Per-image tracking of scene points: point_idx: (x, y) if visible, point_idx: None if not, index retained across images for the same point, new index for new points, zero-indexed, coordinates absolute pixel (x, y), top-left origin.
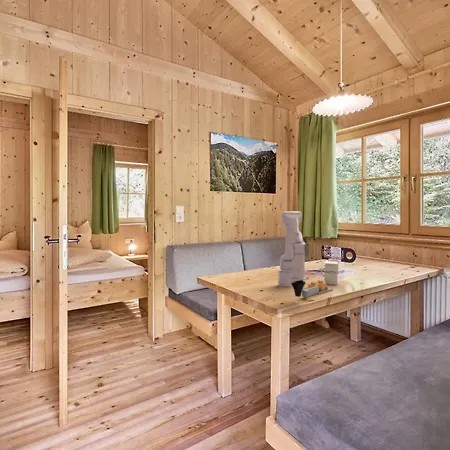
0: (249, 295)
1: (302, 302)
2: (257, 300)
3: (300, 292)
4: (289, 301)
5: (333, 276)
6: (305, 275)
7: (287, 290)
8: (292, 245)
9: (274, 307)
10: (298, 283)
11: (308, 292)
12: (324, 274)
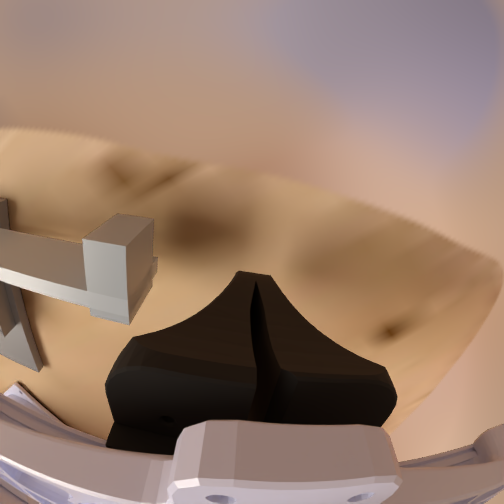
0: None
1: (259, 213)
2: (390, 431)
3: (251, 293)
4: (309, 318)
5: None
6: None
7: (81, 409)
8: None
9: (485, 312)
10: (372, 414)
11: (105, 232)
12: None
